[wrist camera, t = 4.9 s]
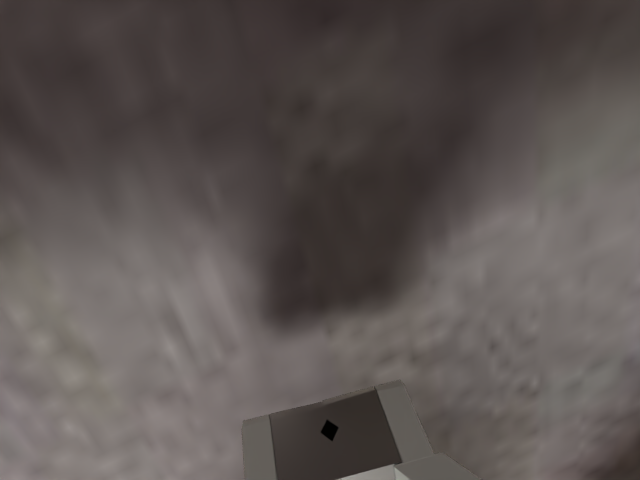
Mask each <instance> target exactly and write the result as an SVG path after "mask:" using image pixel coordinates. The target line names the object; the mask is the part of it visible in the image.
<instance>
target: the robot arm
mask: <svg viewBox="0 0 640 480" xmlns="http://www.w3.org/2000/svg"><path fill="white" fill-rule="evenodd" d="M242 445H243V461H244V477H245V480H482V479H480V478H479V477H478V476H476V475H475V474H473V473H472V472H470V471H469V470H468V469H466V468H465V467H463V466H462V465H460V464H459V463H458V462H456V461H455V460H453V459H452V458H450V457H449V456H447V455H446V454H445V453H443V452H441V453H437V454H434V452H433V450H432V447H431V445H430V443H429V440H428V438H427V436H426V434H425V431H424V429H423V427H422V424H421V422H420V420H419V418H418V415H417V413H416V411H415V408H414V406H413V404H412V402H411V399H410V397H409V395H408V392H407V390H406V388H405V386H404V383H403V382H402V381H401V380H397V381H393V382H389V383H385V384H382V385H378V386H374V387H373V386H372V387H369V388H365V389H362V390H358V391H355V392H351V393H347V394H344V395H340V396H337V397H333V398H329V399H326V400H322V402H318V403H314V404H309V405H305V406H301V407H297V408H293V409H288V410H284V411H280V412H276V413H272V414H268V415H264V416H260V417H256V418H252V419H248V420H244V421H243V424H242Z"/></svg>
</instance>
